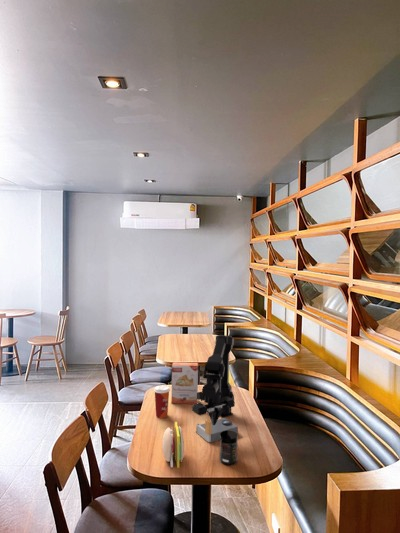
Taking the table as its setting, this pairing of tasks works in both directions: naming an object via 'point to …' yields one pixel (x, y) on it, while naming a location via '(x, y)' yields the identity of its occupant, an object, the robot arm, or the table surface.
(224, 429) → the box with round button
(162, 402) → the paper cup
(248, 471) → the table surface
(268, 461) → the table surface
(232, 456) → the supplement container
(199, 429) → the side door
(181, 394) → the cracker box
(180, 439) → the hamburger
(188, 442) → the table surface
